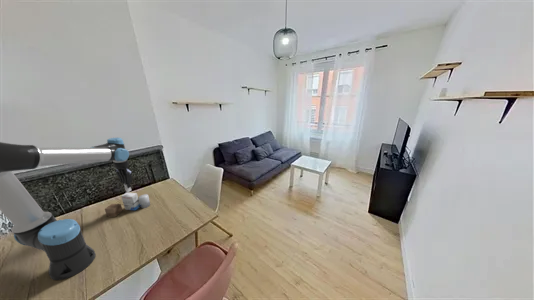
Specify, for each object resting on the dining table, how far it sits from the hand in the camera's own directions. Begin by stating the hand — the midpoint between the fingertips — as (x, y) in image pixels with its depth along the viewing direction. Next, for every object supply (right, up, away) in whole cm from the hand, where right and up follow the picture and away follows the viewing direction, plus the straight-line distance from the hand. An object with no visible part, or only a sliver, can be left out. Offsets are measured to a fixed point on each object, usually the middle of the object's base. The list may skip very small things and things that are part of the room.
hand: (128, 191), depth 121 cm
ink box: (-1, -14, +4) cm, 14 cm away
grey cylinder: (+7, -13, +7) cm, 16 cm away
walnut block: (-8, -15, -2) cm, 17 cm away
